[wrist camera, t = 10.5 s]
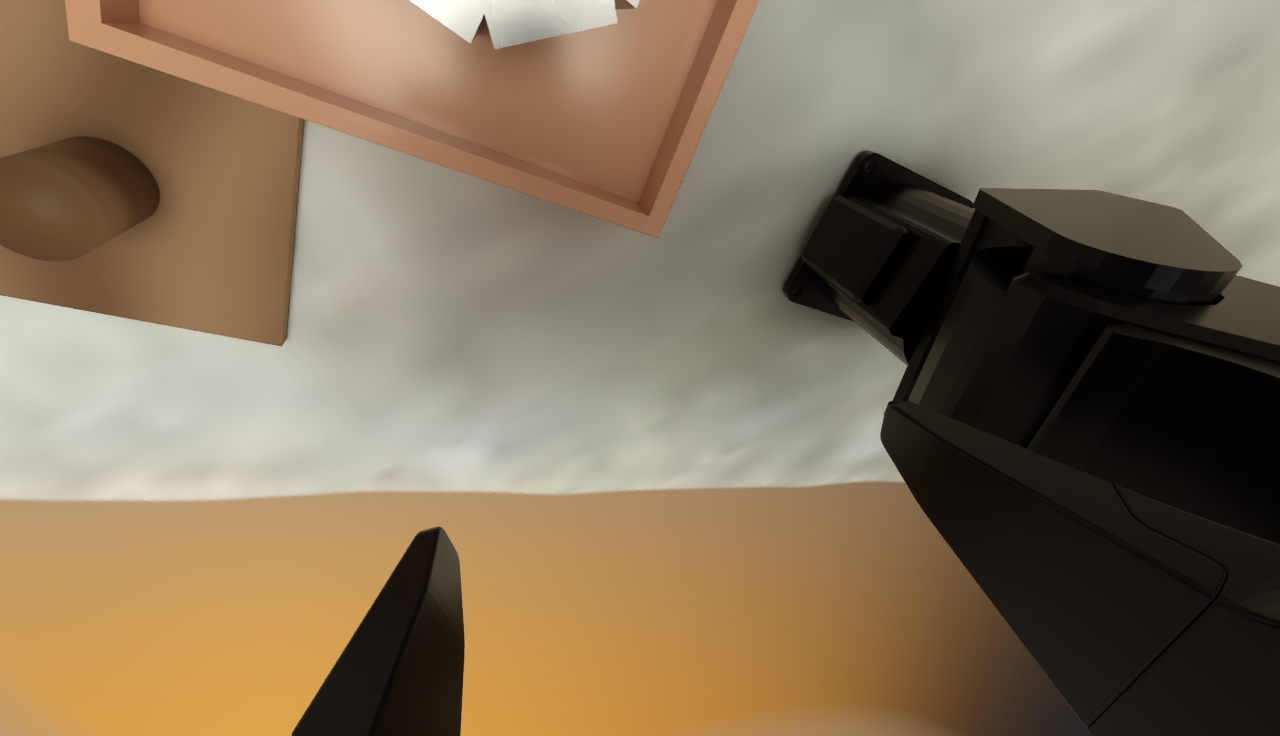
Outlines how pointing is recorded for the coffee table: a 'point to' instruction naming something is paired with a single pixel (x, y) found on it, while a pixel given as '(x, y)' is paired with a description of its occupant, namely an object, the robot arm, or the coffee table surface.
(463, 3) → the grey tankard
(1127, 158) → the coffee table surface
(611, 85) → the tray
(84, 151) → the square plate with peg
